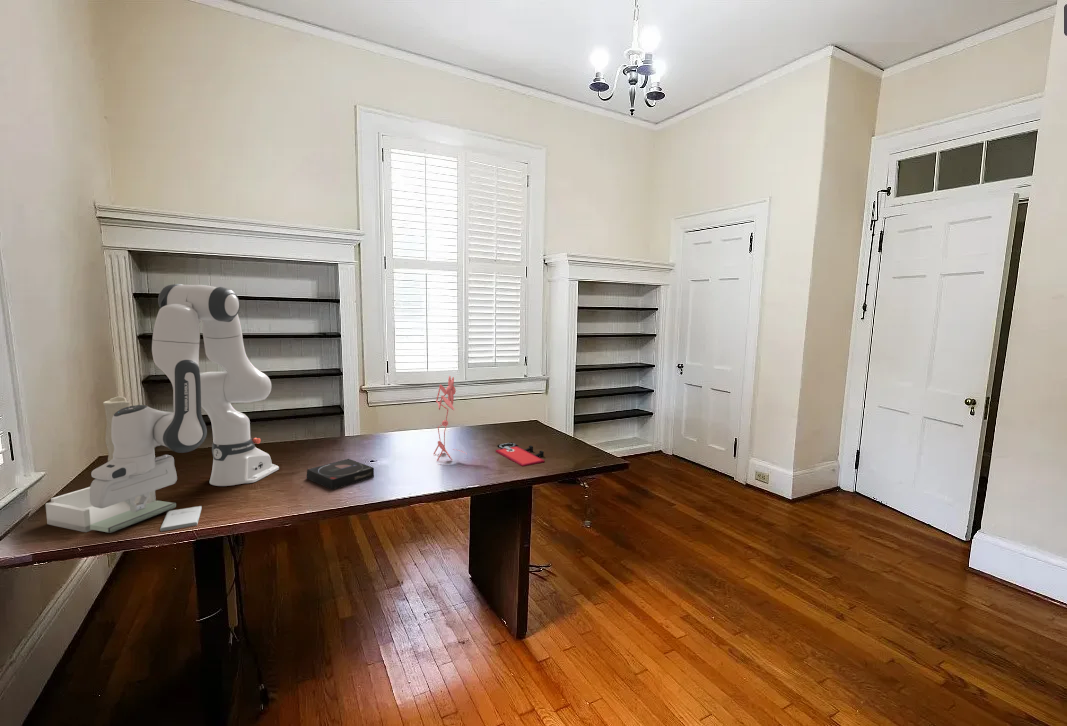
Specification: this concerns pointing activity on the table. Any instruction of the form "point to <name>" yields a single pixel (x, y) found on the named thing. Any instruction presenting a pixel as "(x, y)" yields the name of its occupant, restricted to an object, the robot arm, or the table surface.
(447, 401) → the figurine
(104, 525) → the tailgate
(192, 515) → the external hard drive
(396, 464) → the table surface
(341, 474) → the portable cd player
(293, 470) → the table surface
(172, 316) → the robot arm
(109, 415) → the cream statue
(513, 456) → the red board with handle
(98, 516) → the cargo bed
